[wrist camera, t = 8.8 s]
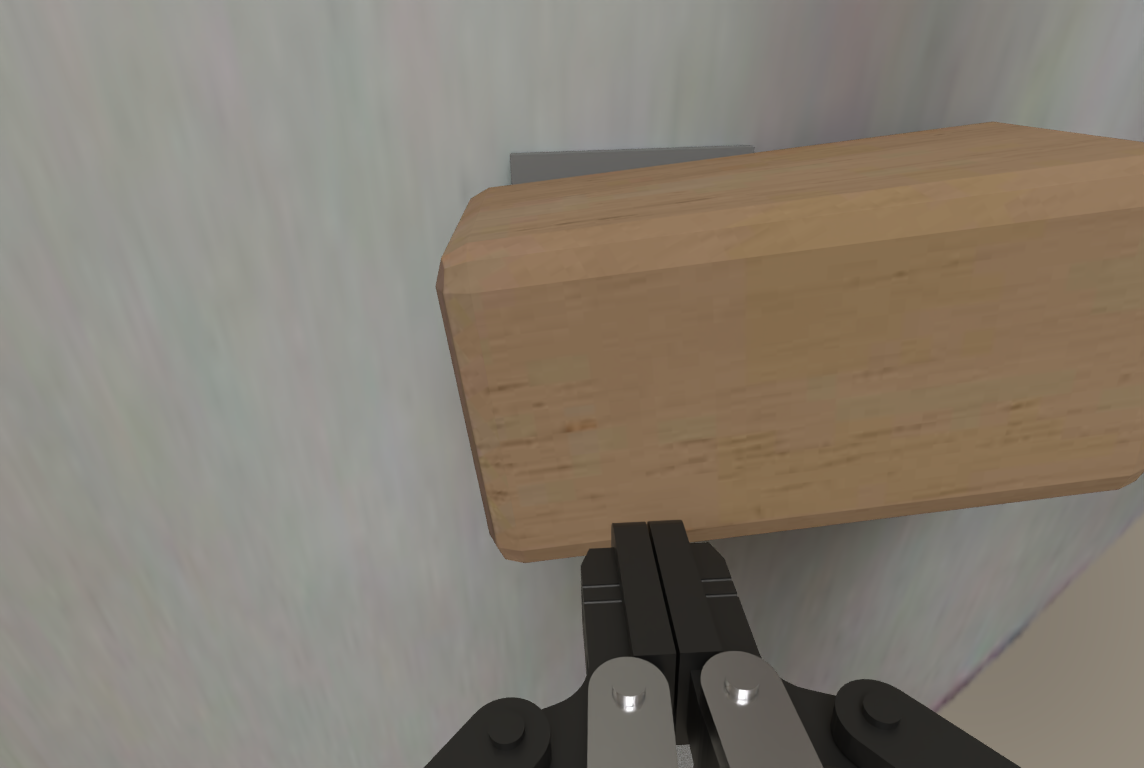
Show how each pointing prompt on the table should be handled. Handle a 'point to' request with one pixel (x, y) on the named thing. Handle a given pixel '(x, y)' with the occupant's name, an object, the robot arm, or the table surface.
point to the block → (801, 335)
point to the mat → (608, 161)
